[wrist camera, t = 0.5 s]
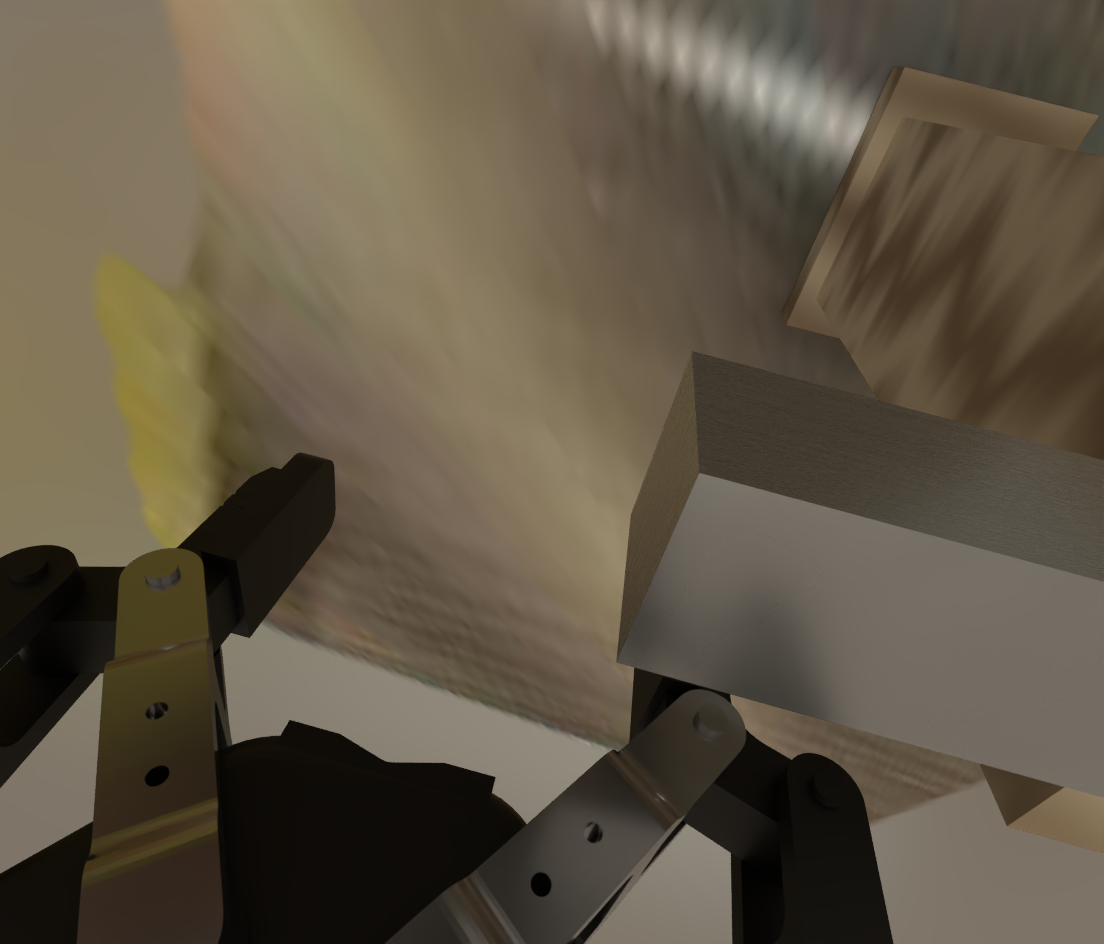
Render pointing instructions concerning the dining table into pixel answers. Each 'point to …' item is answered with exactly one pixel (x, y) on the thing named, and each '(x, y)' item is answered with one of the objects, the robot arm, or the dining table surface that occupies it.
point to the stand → (974, 296)
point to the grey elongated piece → (874, 571)
